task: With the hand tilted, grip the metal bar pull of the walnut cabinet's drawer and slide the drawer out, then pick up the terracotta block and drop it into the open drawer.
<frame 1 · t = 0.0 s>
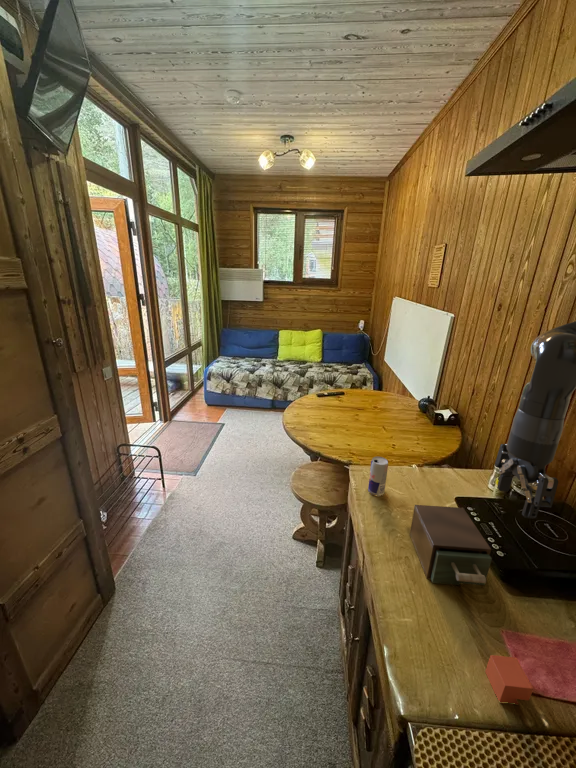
hand: (514, 502, 65), 22 cm above the kitchen counter, tool pointing down, fingers open, 8 cm apart
energy drink: (376, 492, 103), on the kitchen counter
drawer: (453, 555, 73), point 5 cm above the kitchen counter, slide at 0.5 cm
block: (505, 688, 53), on the kitchen counter
cabinet: (442, 556, 79), on the kitchen counter
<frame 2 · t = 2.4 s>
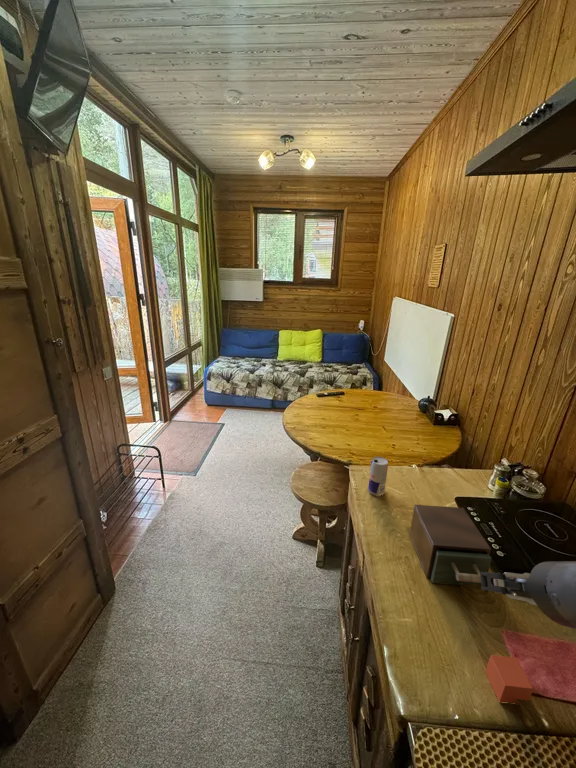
hand: (512, 587, 52), 17 cm above the kitchen counter, tool tilted 40°, fingers open, 8 cm apart
nothing on the kitchen counter moved.
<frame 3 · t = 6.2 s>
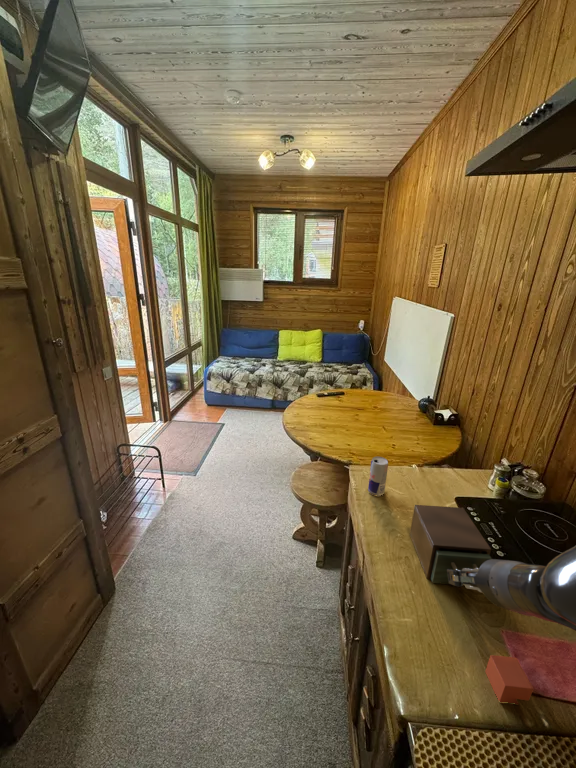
hand: (466, 576, 67), 6 cm above the kitchen counter, tool tilted 45°, fingers closed on drawer, 5 cm apart
drawer: (453, 555, 73), point 5 cm above the kitchen counter, slide at 0.5 cm, touching gripper
everything else where it was.
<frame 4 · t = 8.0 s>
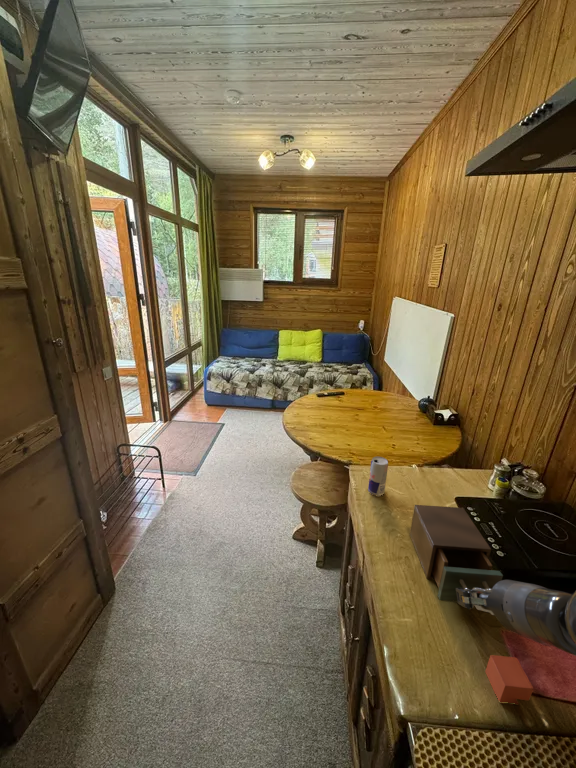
hand: (476, 594, 63), 6 cm above the kitchen counter, tool tilted 45°, fingers closed on drawer, 5 cm apart
drawer: (461, 571, 69), point 5 cm above the kitchen counter, slide at 4.7 cm, touching gripper
everything else where it was.
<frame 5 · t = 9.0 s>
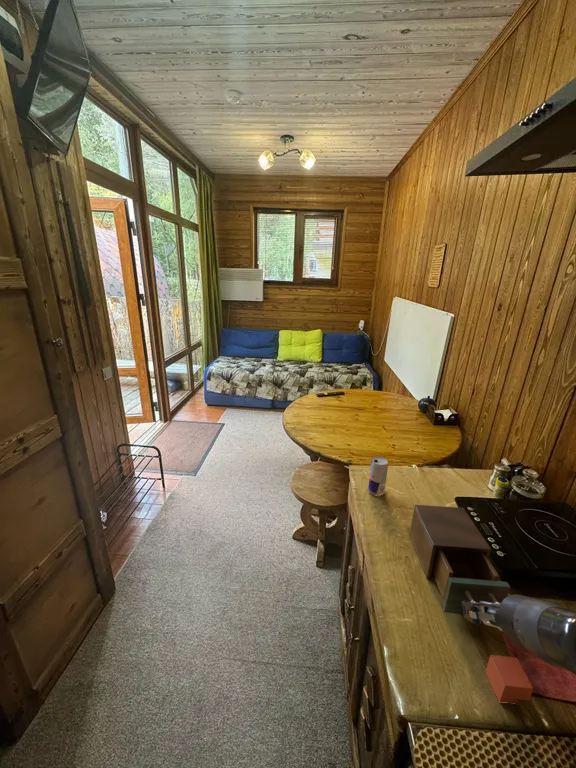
hand: (483, 606, 60), 6 cm above the kitchen counter, tool tilted 45°, fingers closed on drawer, 5 cm apart
drawer: (466, 581, 66), point 5 cm above the kitchen counter, slide at 7.2 cm, touching gripper
everything else where it was.
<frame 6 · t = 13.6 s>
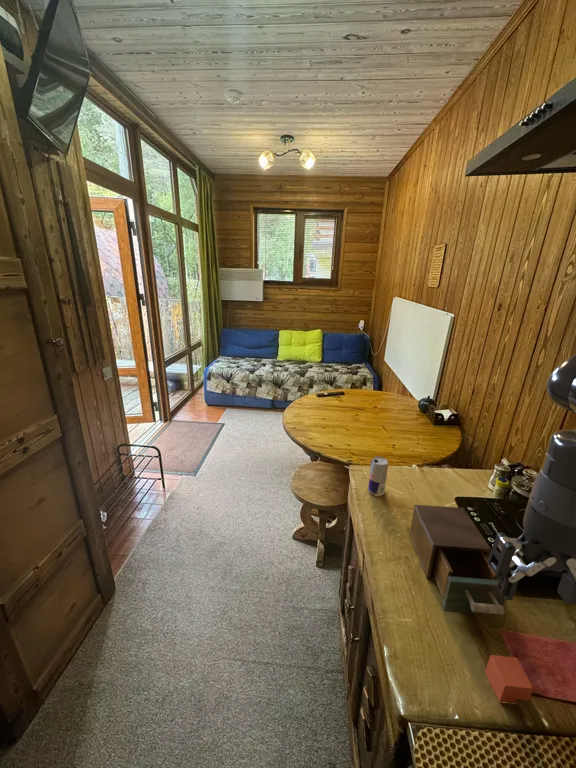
hand: (534, 596, 46), 22 cm above the kitchen counter, tool pointing down, fingers open, 8 cm apart
drawer: (466, 580, 67), point 5 cm above the kitchen counter, slide at 7.0 cm
everything else where it was.
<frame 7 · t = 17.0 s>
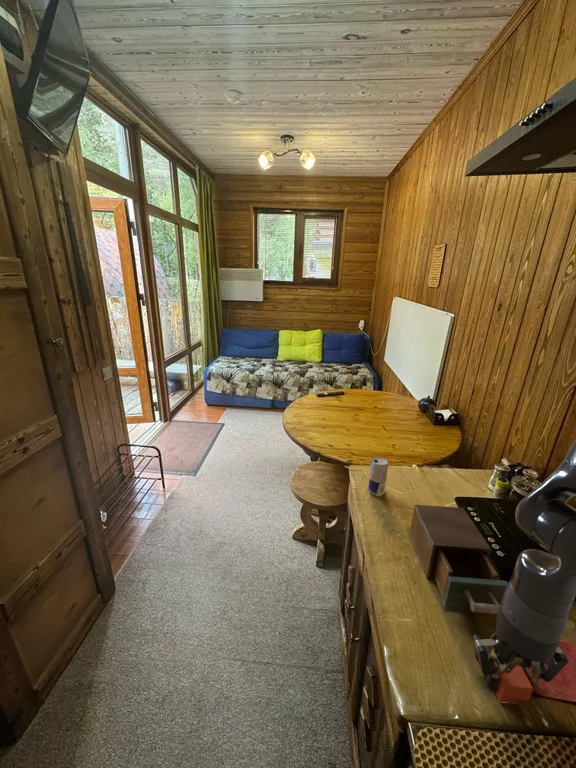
hand: (505, 686, 53), 0 cm above the kitchen counter, tool pointing down, fingers closed on block, 4 cm apart
block: (505, 688, 53), on the kitchen counter, touching gripper
everything else where it was.
when the fingers open (8 cm above the kitchen counter, at t = 23.8 s): block drops 6 cm, resting on drawer.
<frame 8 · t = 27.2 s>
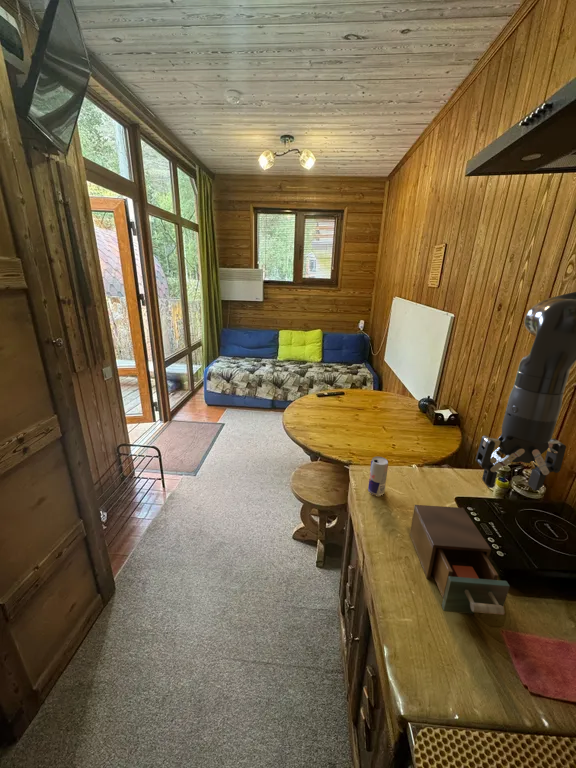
hand: (510, 486, 61), 28 cm above the kitchen counter, tool pointing down, fingers open, 8 cm apart
drawer: (466, 580, 67), point 5 cm above the kitchen counter, slide at 7.0 cm, touching block
block: (463, 589, 68), point 2 cm above the kitchen counter, touching drawer
everything else where it was.
at the end: drawer slide at 7.0 cm; block inside the target area (0.2 cm from its centre), point 2.0 cm above the kitchen counter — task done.
